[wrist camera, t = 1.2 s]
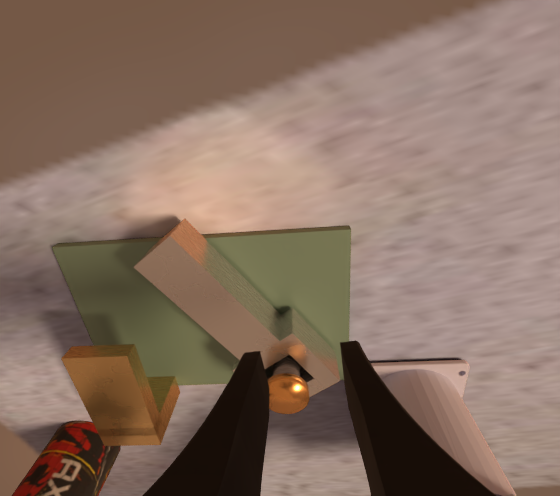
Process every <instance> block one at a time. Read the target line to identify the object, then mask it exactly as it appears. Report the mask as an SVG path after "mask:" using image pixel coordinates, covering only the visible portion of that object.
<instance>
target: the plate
mask: <svg viewBox="0 0 560 496" xmlns="http://www.w3.org/2000/svg"><path fill="white" fill-rule="evenodd" d="M202 236H203V237H204V238H205V239H206V240H207V241H208V242H209V243H210V244H211V245H212V246H213V247H214V248H215V249H216V250H217V251H218V252H219V253H220V254H221V255H222V256H223V257H224V258H225V259H226V260H227V261H228V262H229V263H230V264H231V265H232V266H233V267H234V268H235V269H236V270H237V271H238V272H239V273H240V274H241V275H242V276H243V277H244V278H245V279H246V280H247V281H248V282H249V283H250V284H251V285H252V286H253V287H254V288H255V289H256V290H257V291H258V292H259V293H260V294H261V295H262V296H263V297H264V298H265V299H266V300H267V301H268V302H269V303H270V304H271V305H272V306H273V307H274V308H275V309H276V310H277V311H278V312H279V313H280V314H283V313H284V312H286V311H288V310H289V309H291V308H293V309H294V310H295V311H296V312H297V313H298V314H299V315H300V316H301V317H302V318H303V319H304V320H305V321H306V322H307V323H308V324H309V325H310V326H311V327H312V328H313V329H314V330H315V331H316V332H317V334H318V335H319V336H320V337H321V338H322V339H323V340H324V341H325V342H326V343H327V344H328V345H329V346H330V347H331V348H332V349H333V350H334V351H335V353H336V359H337V365H338V371H339V376H340V380H344V375H343V366H342V357H341V348H340V342H349V308H350V255H351V228H350V226H337V227H320V228H304V229H288V230H272V231H255V232H239V233H223V234H206V235H202ZM162 238H163V237H157V238H141V239H125V240H108V241H92V242H76V243H59V244H57V245H55V246H53V247H52V249H53V251H54V254H55V256H56V258H57V261H58V263H59V265H60V268H61V270H62V272H63V275H64V277H65V279H66V282H67V284H68V286H69V289H70V291H71V293H72V296H73V298H74V301H75V303H76V305H77V308H78V310H79V312H80V315H81V317H82V319H83V322H84V324H85V326H86V329H87V331H88V333H89V336H90V338H91V340H92V343H93V345H94V346H99V345H123V344H135V346H136V349H137V352H138V355H139V357H140V360H141V363H142V366H143V369H144V371H145V374H146V377H166V376H175V377H176V380H177V384H178V385H202V384H228V382H229V381H230V379H231V377H232V375H233V373H234V372H233V371H232V369H233V364H234V359H235V356H234V355H233V354H232V353H231V352H230V351H229V350H227V349H226V348H225V347H224V346H223V345H222V344H221V343H219V342H218V341H217V340H216V339H215V338H214V337H213V336H211V335H210V334H209V333H208V332H207V331H206V330H205V329H203V328H202V327H201V326H200V325H199V324H198V323H197V322H195V321H194V320H193V319H192V318H191V317H190V316H189V315H187V314H186V313H185V312H184V311H183V310H182V309H181V308H179V307H178V306H177V305H176V304H175V303H174V302H173V301H171V300H170V299H169V298H168V297H167V296H166V295H165V294H164V293H162V292H161V291H160V290H159V289H158V288H157V287H156V286H154V285H153V284H152V283H151V282H150V281H149V280H148V279H146V278H145V277H144V276H143V275H142V274H141V273H140V272H138V271H137V270H136V269H135V268H134V266H135V265H136V264H137V263H138V262H139V261H140V259H141V258H142V257H143V256H144V255H145V254H146V253H147V252H148V251H149V250H150V249H151V247H152V246H154V245H155V244H156V243H157V242H158V241H159V240H161V239H162Z"/></svg>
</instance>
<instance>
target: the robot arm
mask: <svg viewBox="0 0 560 496" xmlns="http://www.w3.org/2000/svg"><path fill="white" fill-rule="evenodd" d="M340 348H341V357H342V366H343V375H344V383H345V389H346V395H347V400H348V406H349V411H350V414H351V418H352V422H353V426H354V429H355V433H356V437H357V440H358V444H359V448H360V451H361V455H362V459H363V462H364V466H365V470H366V474H367V478H368V482H369V487H370V492H371V496H517V495H516V494H515V492H514V490H513V488H512V486H511V485H510V483H509V481H508V479H507V478H506V476H505V474H504V472H503V471H502V469H501V467H500V465H499V463H498V462H497V460H496V458H495V456H494V455H493V453H492V451H491V449H490V448H489V446H488V444H487V442H486V440H485V439H484V437H483V435H482V433H481V432H480V430H479V428H478V426H477V425H476V423H475V421H474V419H473V417H472V416H471V414H470V412H469V410H468V409H467V407H466V405H465V403H464V402H463V400H462V397H463V393H464V389H465V385H466V381H467V376H468V372H469V368H470V366H469V364H468V363H467V361H465V360H445V361H416V362H388V363H370V362H369V360H368V358H367V357H366V355H365V353H364V352H363V350H362V348H361V346H360V343H359V342H357V341H349V342H340ZM268 421H269V384H268V381H267V377H266V373H265V369H264V365H263V361H262V357H261V353H260V351H255V352H245V353H244V354H243V355H242V357H241V359H240V361H239V363H238V365H237V367H236V369H235V371H234V373H233V375H232V377H231V379H230V381H229V382H228V384H227V386H226V388H225V389H224V391H223V393H222V394H221V396H220V398H219V400H218V401H217V403H216V404H215V406H214V407H213V409H212V411H211V412H210V414H209V415H208V417H207V418H206V420H205V421H204V423H203V424H202V426H201V427H200V428H199V430H198V431H197V433H196V434H195V435H194V437H193V438H192V439H191V441H190V442H189V443H188V445H187V446H186V447H185V448H184V450H183V451H182V452H181V453H180V455H179V456H178V457H177V458H176V459H175V461H174V462H173V463H172V464H171V465H170V467H169V468H168V469H167V470H166V471H165V472H164V473H163V475H162V476H161V477H160V478H159V479H158V480H157V481H156V482H155V483H154V484H153V485H152V486H151V487H150V488H149V490H148V491H147V492H146V493H145V494H144V495H143V496H260V492H261V480H262V471H263V463H264V455H265V447H266V438H267V430H268Z"/></svg>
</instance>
